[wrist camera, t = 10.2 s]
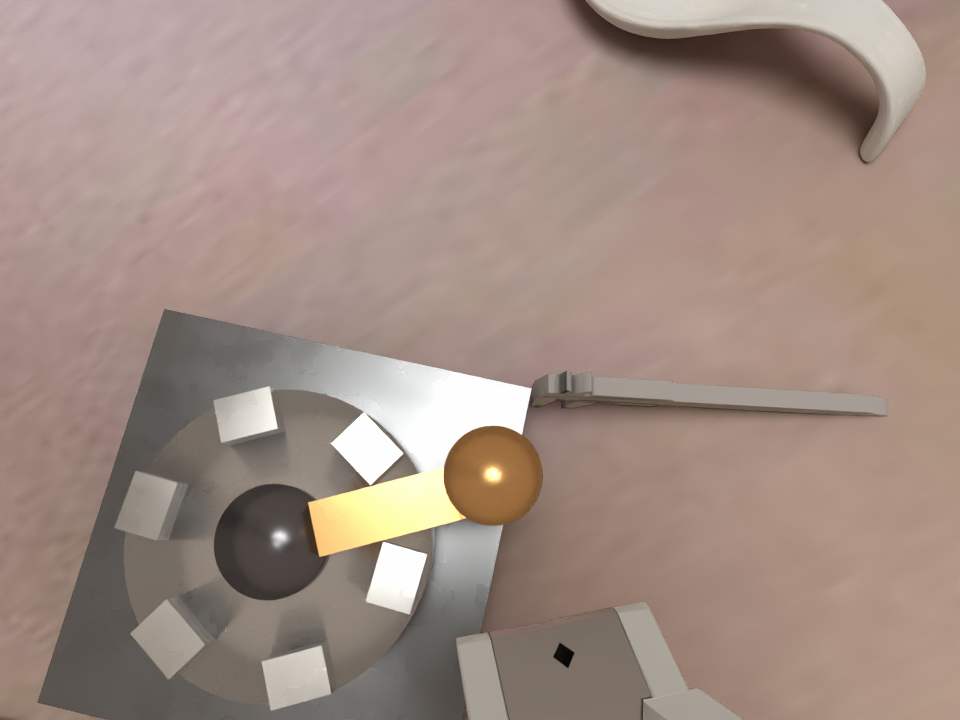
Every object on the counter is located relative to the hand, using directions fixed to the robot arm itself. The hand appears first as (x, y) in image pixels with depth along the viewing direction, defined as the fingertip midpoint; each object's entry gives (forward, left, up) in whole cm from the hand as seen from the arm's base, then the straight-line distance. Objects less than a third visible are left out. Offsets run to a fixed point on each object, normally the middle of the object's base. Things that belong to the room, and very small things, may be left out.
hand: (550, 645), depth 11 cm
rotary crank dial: (-8, 0, -26) cm, 27 cm away
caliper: (+10, +11, -30) cm, 34 cm away
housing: (-10, -1, -30) cm, 32 cm away
